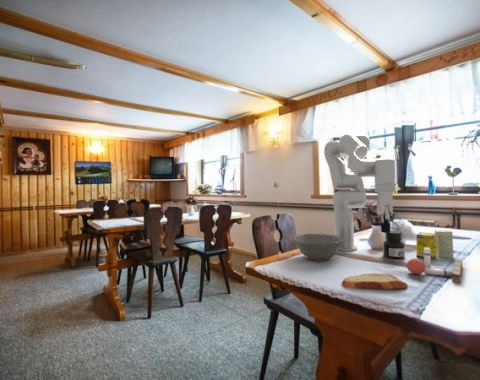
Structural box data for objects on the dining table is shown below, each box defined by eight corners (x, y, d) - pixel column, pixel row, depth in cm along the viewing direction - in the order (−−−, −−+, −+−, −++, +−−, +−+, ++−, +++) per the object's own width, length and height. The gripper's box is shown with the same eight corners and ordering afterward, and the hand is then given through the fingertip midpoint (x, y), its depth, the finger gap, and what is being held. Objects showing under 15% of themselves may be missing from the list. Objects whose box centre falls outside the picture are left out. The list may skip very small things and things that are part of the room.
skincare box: (451, 255, 129) (450, 230, 128) (453, 258, 125) (453, 231, 124) (434, 254, 131) (434, 229, 131) (436, 256, 127) (436, 231, 127)
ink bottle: (392, 260, 124) (392, 234, 124) (378, 255, 132) (378, 231, 132) (410, 258, 126) (409, 232, 126) (395, 253, 135) (394, 229, 134)
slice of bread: (337, 286, 96) (337, 276, 96) (359, 274, 108) (359, 264, 108) (392, 302, 82) (392, 290, 82) (411, 286, 94) (411, 275, 94)
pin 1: (424, 269, 110) (424, 248, 110) (423, 267, 112) (423, 247, 112) (431, 270, 109) (431, 249, 109) (429, 268, 111) (429, 247, 111)
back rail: (459, 283, 94) (459, 274, 94) (452, 282, 96) (452, 273, 96) (462, 266, 112) (462, 259, 112) (455, 265, 114) (455, 258, 114)
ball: (427, 277, 102) (412, 275, 108) (430, 262, 104) (415, 261, 109) (416, 271, 100) (401, 269, 106) (419, 256, 102) (404, 255, 108)
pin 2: (424, 272, 106) (451, 274, 102) (425, 275, 104) (452, 278, 100) (424, 266, 105) (451, 269, 102) (425, 270, 103) (453, 272, 100)
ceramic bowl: (284, 260, 128) (284, 239, 128) (308, 250, 145) (308, 232, 145) (329, 269, 113) (329, 245, 113) (350, 257, 130) (350, 236, 130)
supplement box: (429, 259, 123) (429, 236, 123) (416, 256, 128) (415, 234, 128) (437, 257, 126) (436, 234, 126) (423, 255, 131) (423, 232, 131)
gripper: (373, 188, 120) (373, 229, 121) (377, 188, 106) (377, 235, 107) (392, 187, 118) (392, 229, 118) (398, 188, 104) (399, 236, 104)
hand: (385, 232), depth 112 cm, fingers closed
